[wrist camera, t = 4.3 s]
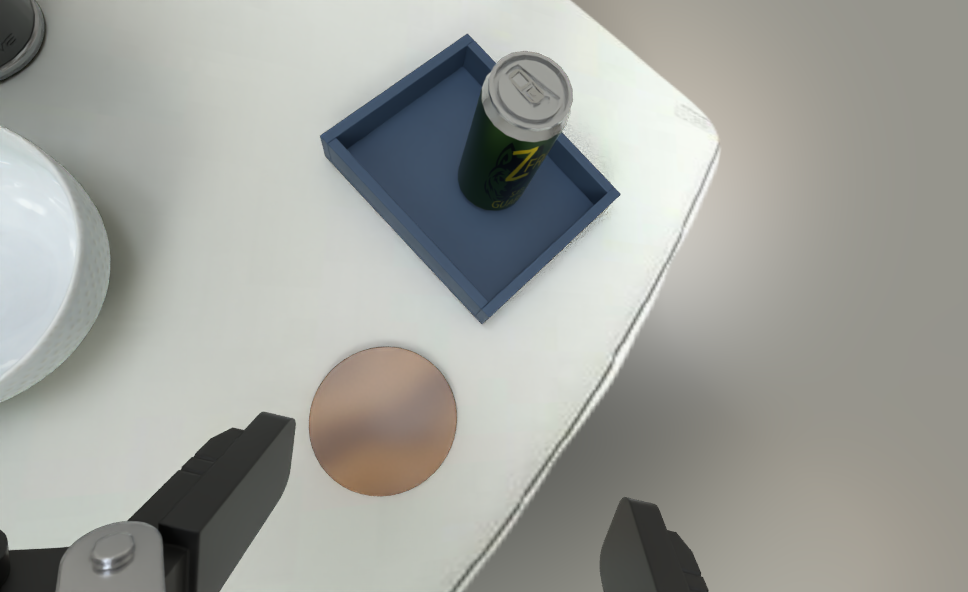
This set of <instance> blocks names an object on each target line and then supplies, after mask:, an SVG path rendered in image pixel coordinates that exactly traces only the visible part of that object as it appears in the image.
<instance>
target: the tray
mask: <svg viewBox="0 0 968 592" xmlns="http://www.w3.org/2000/svg"><path fill="white" fill-rule="evenodd" d="M495 65H496V63H495V62H494V61H493V60H492V59H491V58H490V56H489V55H488V54H487V53H486V52H485V51H484V50H483V49H482V48H481V47H480V46H479V45H478V44H477V43H476V42H475V41H474V40H473V39H472V38H471V37H470V36H469V35H468V34H466V35H465V36H463V37H462V38H460V39H459V40H457V41H456V42H455V43H453V44H452V45H450V46H449V47H447V48H446V49H445V50H443V51H442V52H440V53H439V54H437V55H436V56H434V57H433V58H432V59H430V60H429V61H427V62H426V63H424V64H423V65H421V66H420V67H419V68H417V69H416V70H414V71H413V72H411V73H410V74H408V75H407V76H406V77H404V78H403V79H401V80H400V81H398V82H397V83H395V84H394V85H393V86H391V87H390V88H388V89H387V90H385V91H384V92H382V93H381V94H380V95H378V96H377V97H375V98H374V99H372V100H371V101H369V102H368V103H367V104H365V105H364V106H362V107H361V108H359V109H358V110H356V111H355V112H354V113H352V114H351V115H349V116H348V117H346V118H345V119H343V120H342V121H341V122H339V123H338V124H336V125H335V126H333V127H332V128H330V129H329V130H328V131H326V132H325V133H323V134H322V135H321V136H320V138H321V141H322V145H323V149H324V154H325V156H326V157H327V158H328V159H329V160H330V162H331V163H332V164H333V165H334V166H335V167H336V168H337V169H338V170H339V171H340V172H341V173H342V174H343V176H344V177H345V178H346V179H347V180H348V181H349V182H350V183H351V184H352V185H353V186H354V187H355V188H356V190H357V191H358V192H359V193H360V194H361V195H362V196H363V197H364V198H365V199H366V200H367V201H368V202H369V203H370V205H371V206H372V207H373V208H374V209H375V210H376V211H377V212H378V213H379V214H380V215H381V216H382V217H383V219H384V220H385V221H386V222H387V223H388V224H389V225H390V226H391V227H392V228H393V229H394V230H395V231H396V233H397V234H398V235H399V236H400V237H401V238H402V239H403V240H404V241H405V242H406V243H407V244H408V245H409V247H410V248H411V249H412V250H413V251H414V252H415V253H416V254H417V255H418V256H419V257H420V258H421V259H422V260H423V262H424V263H425V264H426V265H427V266H428V267H429V268H430V269H431V270H432V271H433V272H434V273H435V274H436V276H437V277H438V278H439V279H440V280H441V281H442V282H443V283H444V284H445V285H446V286H447V287H448V288H449V290H450V291H451V292H452V293H453V294H454V295H455V296H456V297H457V298H458V299H459V300H460V301H461V302H462V303H463V305H464V306H465V307H466V308H467V309H468V310H469V311H470V312H471V313H472V314H473V315H474V316H475V317H476V319H477V320H478V321H479V322H480V323H481V324H483V323H484V322H485V321H486V320H487V319H488V318H489V317H491V316H492V315H493V314H494V313H495V312H496V311H497V310H498V309H499V308H500V307H501V306H502V305H503V304H504V303H505V302H507V301H508V300H509V299H510V298H511V297H512V296H513V295H514V294H515V293H516V292H517V291H518V290H519V289H520V288H521V287H523V286H524V285H525V284H526V283H527V282H528V281H529V280H530V279H531V278H532V277H533V276H534V275H535V274H536V273H537V272H539V271H540V270H541V269H542V268H543V267H544V266H545V265H546V264H547V263H548V262H549V261H550V260H551V259H552V258H553V257H555V256H556V255H557V254H558V253H559V252H560V251H561V250H562V249H563V248H564V247H565V246H566V245H567V244H568V243H570V242H571V241H572V240H573V239H574V238H575V237H576V236H577V235H578V234H579V233H580V232H581V231H582V230H583V229H584V228H586V227H587V226H588V225H589V224H590V223H591V222H592V221H593V220H594V219H595V218H596V217H597V216H598V215H599V214H600V213H602V212H603V211H604V210H605V209H606V208H607V207H608V206H609V205H610V204H611V203H612V202H613V201H614V200H615V199H616V198H618V197H619V196H620V193H619V192H618V191H617V190H616V189H615V188H614V187H613V185H612V184H611V183H610V182H609V181H608V180H607V179H606V178H605V177H604V176H603V175H602V174H601V173H600V172H599V171H598V170H597V169H596V168H595V167H594V166H593V164H592V163H591V162H590V161H589V160H588V159H587V158H586V157H585V156H584V155H583V154H582V153H581V152H580V151H579V150H578V149H577V148H576V147H575V146H574V145H573V144H572V142H571V141H570V140H569V139H568V138H567V137H566V136H565V135H564V134H563V133H562V132H561V133H560V135H559V136H558V138H557V140H556V141H555V143H554V144H553V146H552V148H551V149H550V151H549V152H548V154H547V156H546V157H545V159H544V160H543V162H542V164H541V165H540V167H539V168H538V170H537V172H536V173H535V175H534V176H533V178H532V180H531V181H530V183H529V184H528V186H527V188H526V189H525V191H524V192H523V194H522V196H521V197H520V198H519V199H518V201H517V202H516V203H515V204H513V205H512V206H510V207H508V208H507V209H502V210H498V211H492V210H484V209H481V208H479V207H476V206H475V205H474V204H472V203H471V202H470V201H469V200H468V199H467V198H466V197H465V195H464V194H463V192H462V191H461V189H460V186H459V182H458V169H459V165H460V162H461V159H462V155H463V152H464V148H465V145H466V141H467V138H468V134H469V131H470V127H471V124H472V120H473V117H474V113H475V110H476V107H477V103H478V100H479V96H480V93H481V89H482V86H483V84H484V81H485V79H486V76H487V75H488V74H489V73H490V72H491V71H492V69H493V67H494V66H495Z"/></svg>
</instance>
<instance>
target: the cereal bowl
mask: <svg viewBox="0 0 968 592" xmlns="http://www.w3.org/2000/svg"><path fill="white" fill-rule="evenodd" d="M109 251H110V247H109V241H108V238H107V232H106V230H105V228H104V225H103V220H102V218H101V216H100V215H99V212H98V210H97V209H96V206H95V205H94V204H93V202H92V200H91V199H90V197H89V195H88V194H87V193H86V192H85V191H84V189H83V188H82V186H81V185H80V184H79V183H78V182H77V181H76V180H75V178H74V177H73V176H72V175H71V174H70V173H69V172H68V171H67V170H66V169H65V168H64V167H63V166H62V165H60V164H59V163H58V162H56V161H55V160H54V159H53V158H52V157H51V156H49V155H48V154H46V153H45V152H44V151H43V150H42V149H41V148H39V147H37V146H36V145H34V144H33V143H31V142H30V141H29V140H27V139H26V138H24V137H22V136H20V135H18V134H17V133H15V132H13V131H11V130H9V129H7V128H5V127H3V126H1V125H0V403H1V402H3V401H5V400H8V399H10V398H12V397H14V396H16V395H17V394H19V393H21V392H23V391H25V390H27V389H28V388H29V387H31V386H33V385H34V384H36V383H38V382H39V381H40V380H43V379H44V377H45V376H47V375H48V374H50V373H52V372H53V371H54V370H55V369H56V368H57V367H58V366H59V365H60V364H62V363H63V362H64V361H65V360H66V359H68V357H69V356H70V354H71V353H72V352H73V351H74V350H76V348H77V347H78V346H79V345H80V343H81V341H82V340H83V339H84V338H85V337H86V335H87V333H88V332H89V331H90V329H91V327H92V325H93V324H94V323H95V320H96V318H97V317H98V315H99V311H100V310H101V309H102V304H103V302H104V300H105V295H106V293H107V288H108V286H109V275H110V272H111V271H110V262H111V261H110V258H111V257H110V252H109Z"/></svg>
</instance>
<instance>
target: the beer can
mask: <svg viewBox="0 0 968 592" xmlns="http://www.w3.org/2000/svg"><path fill="white" fill-rule="evenodd" d="M572 102H573V91H572V86H571V84H570V81H569V78H568V76H567V75H566V73H565V72H564V71H563V69H562V68H561V67H560V66H559V65H558V64H557V63H555V62H554V61H553V60H551V59H550V58H548V57H546V56H544V55H541V54H539V53H535V52H528V51H521V52H514V53H511V54H509V55H507V56H505V57H503V58H501V59H500V60H499V61H498V62H497V64H496V65H495V66H494V67H493V69H492V71H491V72H490V73H489V74H488V75H487V76H486V79H485V81H484V84H483V86H482V89H481V93H480V96H479V100H478V103H477V107H476V110H475V113H474V117H473V120H472V124H471V127H470V131H469V134H468V138H467V141H466V145H465V148H464V152H463V155H462V159H461V162H460V165H459V169H458V182H459V186H460V189H461V191H462V192H463V194H464V195H465V197H466V198H467V199H468V200H469V201H470V202H471V203H472V204H474V205H475V206H476V207H479V208H481V209H484V210H492V211H498V210H502V209H507V208H508V207H510V206H512V205H513V204H515V203H516V202H517V201H518V199H519V198H520V197H521V196H522V194H523V192H524V191H525V189H526V188H527V186H528V184H529V183H530V181H531V180H532V178H533V176H534V175H535V173H536V172H537V170H538V168H539V167H540V165H541V164H542V162H543V160H544V159H545V157H546V156H547V154H548V152H549V151H550V149H551V148H552V146H553V144H554V143H555V141H556V140H557V138H558V136H559V135H560V133H561V132H562V130H563V128H564V127H565V125H566V124H567V121H568V118H569V115H570V108H571V105H572Z"/></svg>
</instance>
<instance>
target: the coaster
mask: <svg viewBox="0 0 968 592" xmlns="http://www.w3.org/2000/svg"><path fill="white" fill-rule="evenodd" d="M456 423H457V411H456V404H455V400H454V396H453V393H452V390H451V388H450V386H449V384H448V382H447V381H446V379H445V377H444V376H443V375H442V373H441V372H440V371H439V370H438V368H436V367H435V366H434V365H433V364H432V363H431V362H430V361H428V360H427V359H426V358H424V357H422V356H421V355H419V354H417V353H415V352H412V351H409V350H406V349H402V348H397V347H376V348H370V349H367V350H363V351H360V352H358V353H356V354H353V355H351V356H350V357H348V358H346V359H344V360H343V361H342V362H340V363H339V364H338V365H337V366H335V367H334V368H333V369H332V370H331V371H330V372H329V374H328V375H327V376H326V377H325V379H324V380H323V381H322V383H321V385H320V386H319V388H318V390H317V392H316V394H315V396H314V399H313V402H312V405H311V410H310V416H309V434H310V440H311V444H312V448H313V451H314V453H315V456H316V458H317V460H318V461H319V463H320V465H321V466H322V468H323V469H324V470H325V471H326V473H327V474H328V475H329V476H330V477H331V478H332V479H333V480H335V481H336V482H337V483H339V484H340V485H342V486H343V487H345V488H347V489H349V490H351V491H354V492H357V493H360V494H364V495H369V496H389V495H394V494H399V493H402V492H405V491H408V490H410V489H412V488H414V487H416V486H418V485H419V484H421V483H422V482H424V481H425V480H427V479H428V478H429V477H430V476H431V475H432V474H433V473H434V472H435V471H436V470H437V469H438V468H439V467H440V465H441V464H442V462H443V461H444V459H445V458H446V456H447V454H448V452H449V450H450V448H451V446H452V443H453V440H454V436H455V431H456Z"/></svg>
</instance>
